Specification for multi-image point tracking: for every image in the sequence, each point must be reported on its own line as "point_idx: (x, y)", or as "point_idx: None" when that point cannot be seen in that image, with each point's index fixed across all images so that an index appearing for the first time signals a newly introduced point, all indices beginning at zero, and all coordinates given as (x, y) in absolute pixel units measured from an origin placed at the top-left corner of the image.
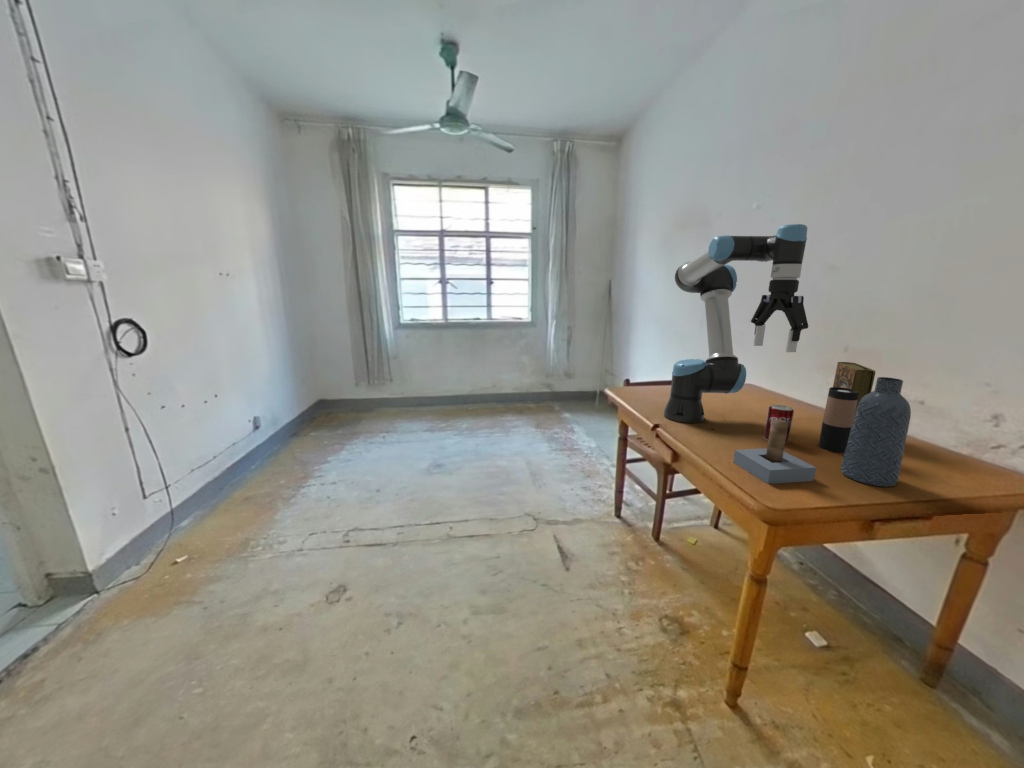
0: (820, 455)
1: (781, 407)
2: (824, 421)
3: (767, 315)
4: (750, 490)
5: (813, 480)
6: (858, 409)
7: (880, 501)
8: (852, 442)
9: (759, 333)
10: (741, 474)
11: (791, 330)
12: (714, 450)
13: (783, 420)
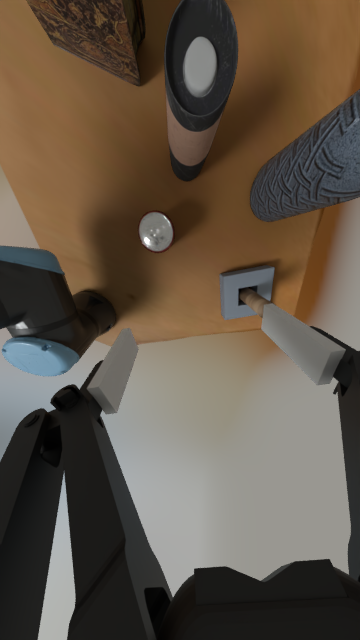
0: (210, 204)
1: (156, 232)
2: (187, 164)
3: (118, 480)
4: None
5: (266, 265)
6: (334, 199)
7: (314, 228)
8: (292, 214)
9: (122, 373)
10: (243, 318)
11: (329, 382)
12: (194, 318)
13: (265, 304)
